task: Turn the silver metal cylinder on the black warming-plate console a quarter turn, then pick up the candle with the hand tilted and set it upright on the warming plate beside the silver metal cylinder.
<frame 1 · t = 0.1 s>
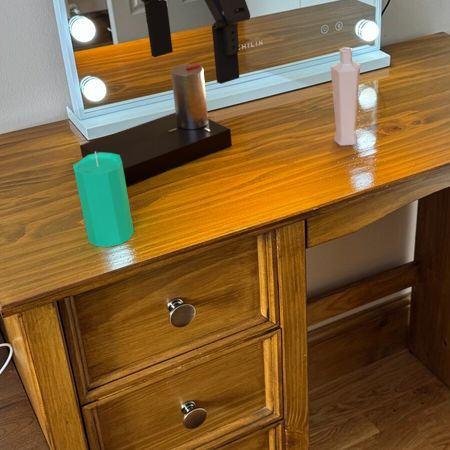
hand: (193, 66, 92), 21 cm above the table, tool pointing down, fingers open, 13 cm apart
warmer: (158, 154, 121), on the table
perfume bottle: (347, 142, 123), on the table
candle: (111, 236, 100), on the table
silver metal cylinder: (189, 96, 121), point 8 cm above the table, hinge at 0.0°
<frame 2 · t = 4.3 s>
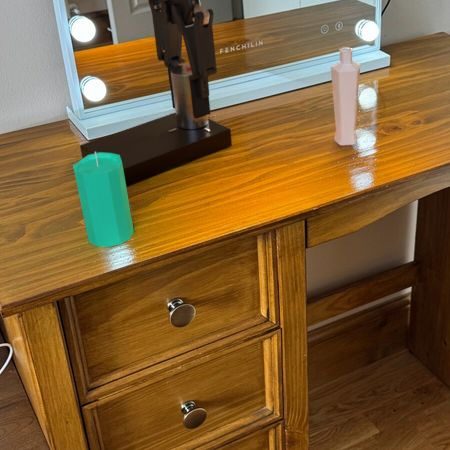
hand: (191, 110, 122), 5 cm above the table, tool pointing down, fingers closed on silver metal cylinder, 5 cm apart
silver metal cylinder: (189, 96, 121), point 8 cm above the table, hinge at -0.1°, touching gripper
everything else where it was.
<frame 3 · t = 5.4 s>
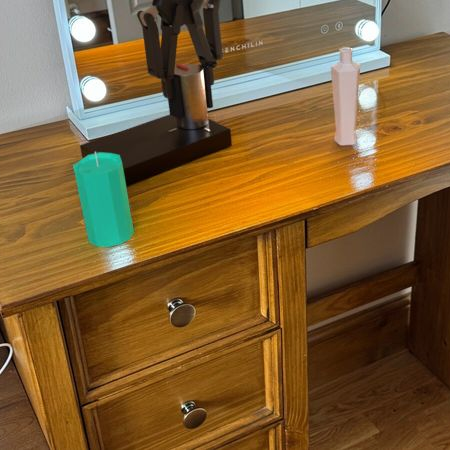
hand: (191, 110, 122), 5 cm above the table, tool pointing down, fingers closed on silver metal cylinder, 5 cm apart
silver metal cylinder: (189, 96, 121), point 8 cm above the table, hinge at 90.5°, touching gripper
everything else where it was.
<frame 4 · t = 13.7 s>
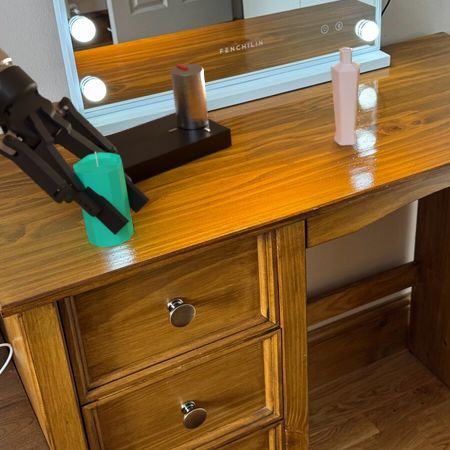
hand: (132, 216, 97), 3 cm above the table, tool tilted 45°, fingers closed on candle, 5 cm apart
candle: (111, 236, 100), on the table, touching gripper
silver metal cylinder: (189, 96, 121), point 8 cm above the table, hinge at 90.2°
everything else where it was.
when the fingers open (6 cm above the table, at t = 23.1 s): candle stays where it is, resting on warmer.
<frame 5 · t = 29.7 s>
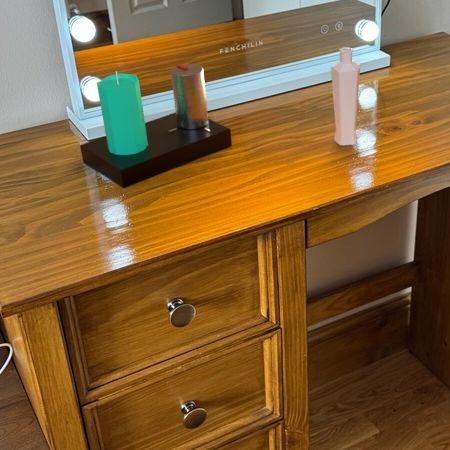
candle: (128, 147, 116), point 3 cm above the table, touching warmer
everything else where it was.
at the end: silver metal cylinder at +90° (first picture: +0°); candle inside the target area on the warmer (0.0 cm from its centre), point 2.8 cm above the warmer's base; candle tilted 0° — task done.
